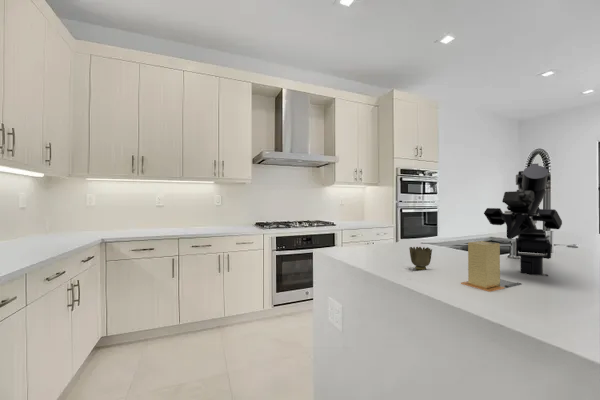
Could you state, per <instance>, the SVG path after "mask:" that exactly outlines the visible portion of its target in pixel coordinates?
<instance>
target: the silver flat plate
mask: <svg viewBox="0 0 600 400" xmlns="http://www.w3.org/2000/svg"><path fill="white" fill-rule="evenodd" d="M460 285H464V286H466V287H467V286H468V287H471V288H474V289H477V290H481V291H485V292H488V293H491V292H495V291H500V290H503V289H508V288H509V289H510V288H512V287H517V286H518V287H519V286H522V285H523V283H521V282H515V281H510V280H506V279H502V278H500V287H495V288H491V289H485V288H482V287H478V286H474V285H471V284H468V281H462V282H460Z"/></svg>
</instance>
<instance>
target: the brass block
mask: <svg viewBox="0 0 600 400" xmlns="http://www.w3.org/2000/svg"><path fill="white" fill-rule="evenodd" d="M500 245H501V243H500V242H492V241H491V242H490V241H482V240H477V241H472V242H471V241H470V242H467V259H468V261H467V262H468V263H467V264H468V265H467V267H468V268H467V270H468V271H467V272H468V275H467V276H468V277H467V279H468V284H471V285H474V286H478V287H482V288H485V289H491V288H495V287H500V279H501V253H500V252H501V251H500V250H501V249H500V248H501V247H500Z"/></svg>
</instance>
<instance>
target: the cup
mask: <svg viewBox="0 0 600 400" xmlns="http://www.w3.org/2000/svg"><path fill="white" fill-rule="evenodd" d="M408 249H409V256H410V260H411V264H412V265H414V266H415V267H414V269H415V270H416V271H417V272H421V271H426V270H427V267H428V266H429V265H430V264H431V260H432V252H433V248H430V247H428V246H427V247H425V246H422V247H421V246H413V247H412V246H409V248H408Z"/></svg>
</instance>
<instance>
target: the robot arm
mask: <svg viewBox="0 0 600 400" xmlns="http://www.w3.org/2000/svg"><path fill="white" fill-rule="evenodd" d="M550 180H551V175H550V176H549V170H548V169H547V168H546V167H545V166H541V165H539V163H530V165H529V166H528V167H525V168H524V169H523V170H519V171H518V174H516V175H515V185H516V186H517V189H516V191H505V192H504V194H503V198H502V200H501V201H502V203H504V204H505V205H507V207H506V209H507V210H504V212H503V211H502V209H501V208H497V207H494V208H493V207H487V208H486V209H485V211H484V212H483V214H484V216H485V217H486V219H487V220H488V222H489V224H491V225H493V226H502V225H504V224H506V238H507V239H508V240H512V239H514V238H515V243H514V255H515V257H520V265H519V266H520V274H526V275H528V276H529V275H530V276H531V275H532V276H533V275H536V276H537V275H539V276H544V277H548V276H549V274H547V273H544V272H543V271H544V268H543V267H544V263H543V262H544V261H543V260H544V259H547V260H550V259H551V258H552V248H553V244H552V243H551V242H550V239H547V236H546V234H545V231H544V229H542V228H537V227H536V224H537V223H538V222H544V225H543V226H544V227H545V228H546V229H549V230H560V229H561V227H562V225H563V221H562V219H561V216H560V215H559V213H558V211H557V210H556V209H553V208H549V209H547V208H545V209H544V208H540V204H541V203H542V201H543V199H544V198H545V196H546V190H545V189H546V187H547V183H549V181H550Z"/></svg>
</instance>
